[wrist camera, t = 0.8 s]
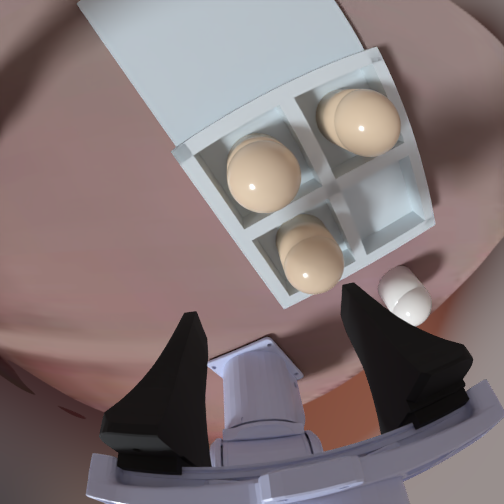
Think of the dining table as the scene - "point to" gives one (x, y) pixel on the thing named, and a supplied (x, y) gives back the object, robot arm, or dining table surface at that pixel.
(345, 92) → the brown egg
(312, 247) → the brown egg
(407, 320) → the white egg
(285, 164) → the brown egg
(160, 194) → the dining table surface
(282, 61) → the egg carton
